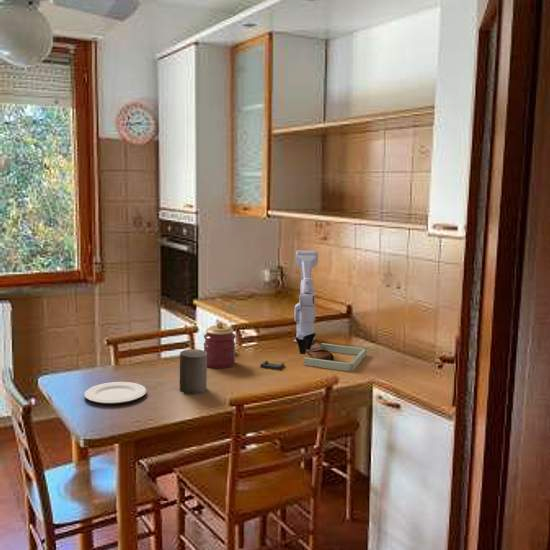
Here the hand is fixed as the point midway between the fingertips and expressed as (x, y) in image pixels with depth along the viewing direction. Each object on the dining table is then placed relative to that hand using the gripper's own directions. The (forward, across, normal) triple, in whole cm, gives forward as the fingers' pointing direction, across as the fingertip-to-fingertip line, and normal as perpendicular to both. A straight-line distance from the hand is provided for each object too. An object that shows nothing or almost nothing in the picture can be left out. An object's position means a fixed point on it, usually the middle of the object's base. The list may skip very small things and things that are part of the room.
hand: (305, 351), depth 262 cm
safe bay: (+2, 0, +14) cm, 14 cm away
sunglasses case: (+3, -4, +4) cm, 6 cm away
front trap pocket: (+2, +20, -7) cm, 21 cm away
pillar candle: (+2, +57, -23) cm, 62 cm away
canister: (+2, +26, -28) cm, 38 cm away
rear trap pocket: (+2, -16, -1) cm, 16 cm away
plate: (+2, +74, -44) cm, 86 cm away
